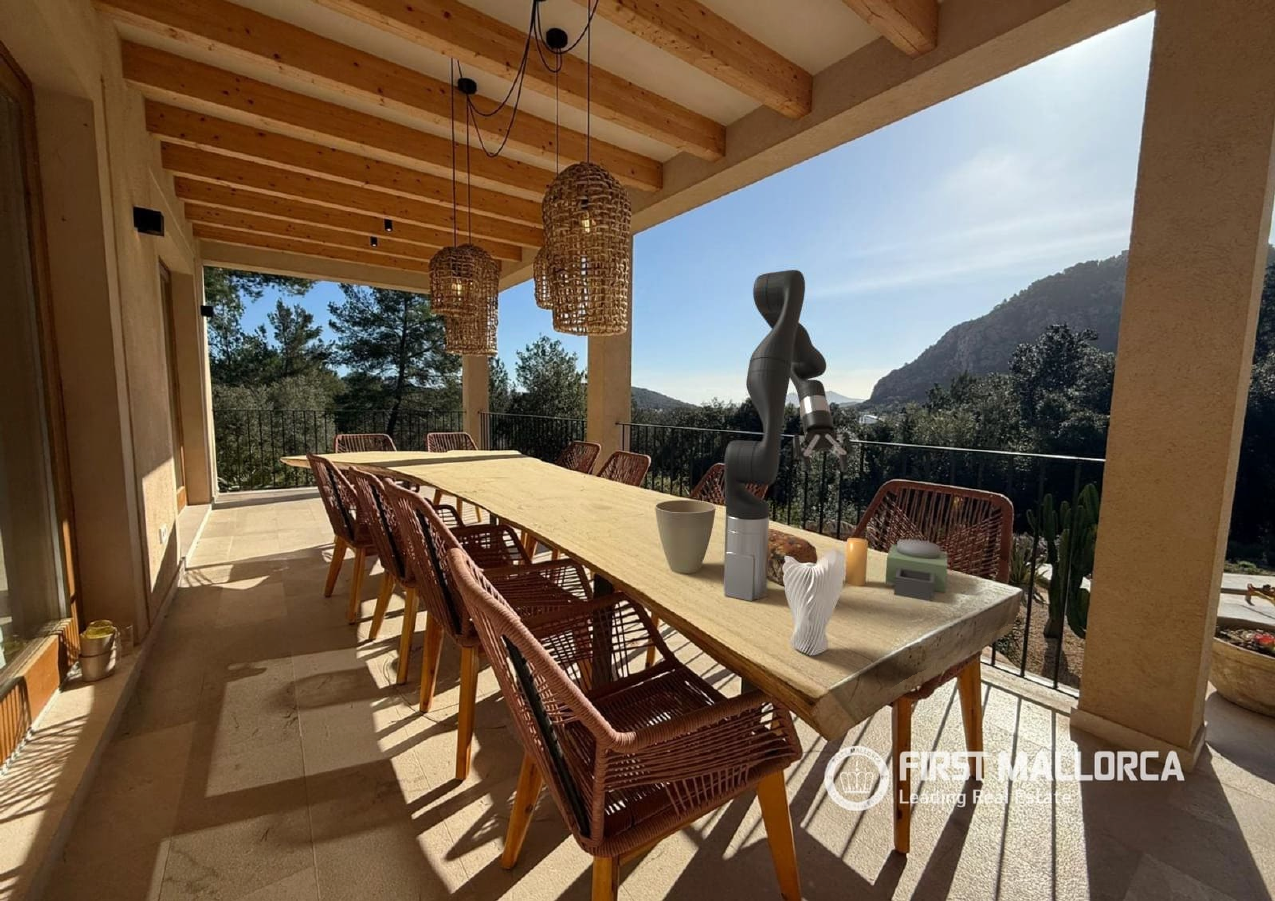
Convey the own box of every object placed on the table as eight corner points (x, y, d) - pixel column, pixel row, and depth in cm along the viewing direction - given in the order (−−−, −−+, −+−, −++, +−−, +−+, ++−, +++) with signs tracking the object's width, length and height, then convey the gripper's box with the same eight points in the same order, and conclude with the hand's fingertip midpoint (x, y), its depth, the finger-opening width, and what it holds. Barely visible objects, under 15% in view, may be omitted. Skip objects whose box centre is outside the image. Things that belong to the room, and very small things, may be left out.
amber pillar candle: (864, 587, 118) (866, 544, 117) (843, 583, 120) (845, 541, 119) (866, 581, 122) (869, 539, 121) (846, 578, 124) (848, 537, 123)
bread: (817, 582, 121) (819, 540, 120) (778, 587, 118) (780, 544, 117) (771, 558, 139) (772, 521, 138) (736, 562, 135) (737, 524, 134)
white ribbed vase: (773, 646, 90) (776, 544, 88) (805, 635, 94) (810, 538, 92) (812, 668, 83) (817, 558, 81) (845, 655, 87) (851, 550, 85)
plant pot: (680, 555, 140) (681, 497, 138) (726, 568, 130) (728, 505, 128) (641, 568, 130) (642, 505, 128) (688, 584, 119) (690, 515, 118)
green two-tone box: (945, 603, 109) (948, 566, 108) (882, 592, 115) (884, 557, 114) (945, 576, 126) (947, 543, 125) (890, 567, 132) (892, 536, 131)
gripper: (791, 410, 136) (801, 465, 128) (847, 407, 135) (860, 463, 128) (786, 425, 143) (795, 478, 135) (839, 422, 142) (851, 476, 134)
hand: (826, 471), depth 131 cm, fingers open, 8 cm apart
